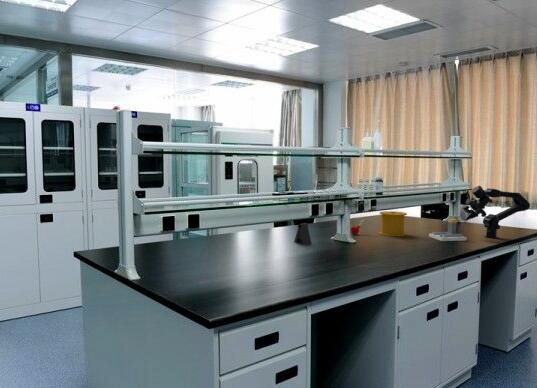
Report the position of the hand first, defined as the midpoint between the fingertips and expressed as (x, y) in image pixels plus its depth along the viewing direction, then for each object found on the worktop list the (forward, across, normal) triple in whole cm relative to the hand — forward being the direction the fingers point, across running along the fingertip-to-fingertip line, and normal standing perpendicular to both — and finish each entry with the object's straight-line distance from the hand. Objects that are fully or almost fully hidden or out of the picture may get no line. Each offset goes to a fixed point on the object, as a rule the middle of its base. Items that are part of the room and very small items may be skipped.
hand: (465, 220), depth 287 cm
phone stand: (+87, +2, -69) cm, 111 cm away
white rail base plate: (+17, 0, 0) cm, 17 cm away
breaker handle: (+14, 0, 0) cm, 14 cm away
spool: (+38, -20, -20) cm, 48 cm away
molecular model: (+57, -21, -39) cm, 72 cm away
